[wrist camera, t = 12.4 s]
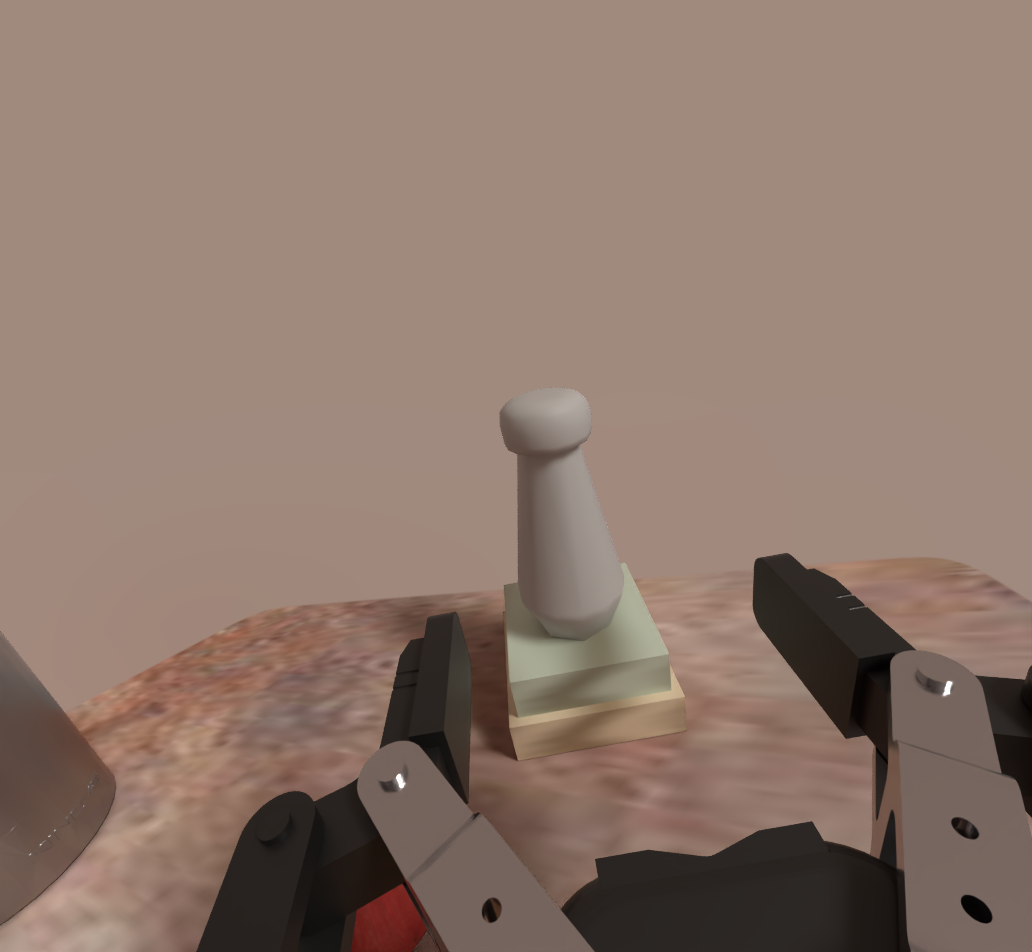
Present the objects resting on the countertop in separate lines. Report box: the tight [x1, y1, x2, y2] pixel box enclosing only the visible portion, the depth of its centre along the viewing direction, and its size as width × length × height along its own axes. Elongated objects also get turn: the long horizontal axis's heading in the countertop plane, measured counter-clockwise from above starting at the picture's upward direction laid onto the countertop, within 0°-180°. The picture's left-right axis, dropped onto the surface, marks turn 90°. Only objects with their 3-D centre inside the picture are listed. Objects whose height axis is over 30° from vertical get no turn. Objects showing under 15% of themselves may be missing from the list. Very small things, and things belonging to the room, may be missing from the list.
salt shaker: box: [500, 388, 624, 641], centre depth 25 cm, size 6×6×13 cm
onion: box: [351, 884, 427, 952], centre depth 18 cm, size 6×6×8 cm
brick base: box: [503, 563, 686, 761], centre depth 28 cm, size 9×9×5 cm
